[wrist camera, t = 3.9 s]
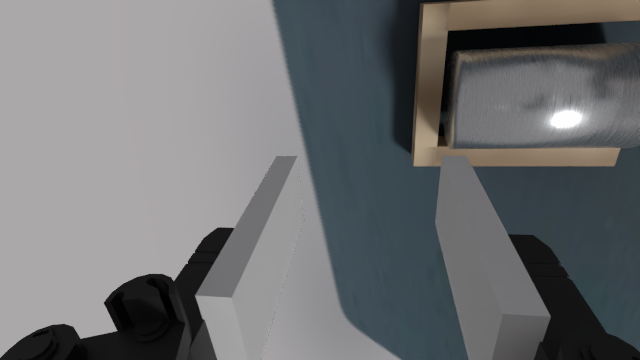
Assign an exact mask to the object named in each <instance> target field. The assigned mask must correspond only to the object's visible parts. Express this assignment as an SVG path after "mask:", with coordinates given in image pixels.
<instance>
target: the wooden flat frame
mask: <svg viewBox="0 0 640 360" xmlns="http://www.w3.org/2000/svg"><path fill="white" fill-rule="evenodd" d="M632 20H640V0H458V1H444V2H429V3H420V13H419V30H418V48H417V65H416V82H415V100H414V117H413V134H412V152H411V156H412V160H413V165H414V166H441V162H442V156H467V158H468V160H469V162H470V164H471V166H614V165H615V163H616V160H617V157H618V154H619V151H620V149H621V148H556V149H449V148H448V146H447V143H446V140H445V136H438V131H439V120H440V110H441V99H442V88H443V78H444V67H445V56H446V46H447V35H448V31H452V30H470V29H488V28H506V27H524V26H542V25H560V24H578V23H596V22H614V21H632Z"/></svg>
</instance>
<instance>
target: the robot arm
mask: <svg viewBox="0 0 640 360" xmlns="http://www.w3.org/2000/svg"><path fill="white" fill-rule="evenodd" d="M303 222H304V214H303V204H302V195H301V186H300V176H299V168H298V158H297V156H277V157H276V158H275V160H274V162H273V163H272V165H271V167H270V168H269V170H268V172H267V174H266V175H265V177H264V179H263V180H262V182H261V184H260V186H259V188H258V189H257V191H256V192H255V194H254V196H253V197H252V199H251V201H250V203H249V204H248V206H247V208H246V210H245V211H244V213H243V215H242V216H241V218H240V220H239V221H238V223H237V225H236V226H235V228H217V229H216V230H214V231H213V232H211V233H210V234H209V235H208V236H206V237H205V238H204V239H203V240H202V241H201V243H200V244H199V246H198V247H197V249H196V250H195V253H193V255H192V256H191V258H190V259H189V261H188V264H186V265H185V266H184V268H183V269H182V271H181V272H180V274H179V275H178V277H177V278H176V279H175V281H173V280H172V278H171V277H168V276H166V275H163V274H148V275H145V276H140V277H137V278H134V279H132V280H130V281H128V282H126V283H124V284H122V285H121V286H120V287H118V288H117V289H116V290H115V291H113V292H112V293H111V294H110V296H109V297H108V298H107V299H106V301H105V302H104V304H105V306H106V308H107V310H108V312H109V314H110V316H111V318H112V320H113V322H114V324H115V327H116V329H117V330H118V331H116V332H112V333H107V334H103V335H98V336H93V337H88V338H83V339H80V337H79V336H78V334H77V332H76V331H75V329H74V328H73V327H72V326H69V325H65V324H59V325H51V326H48V327H45V328H42V329H39V330H37V331H35V332H33V333H31V334H30V335H28V336H26V337H24V338H23V339H21V340H20V341H19V342H17V343H16V344H15V345H14V346H13V347H11V348H10V349H9V350H8V351H7V352H6V353H5V354H4V355H3V356H2V357H1V358H0V360H261V358H262V355H263V352H264V348H265V345H266V342H267V339H268V336H269V333H270V329H271V326H272V322H273V319H274V316H275V313H276V310H277V307H278V303H279V300H280V297H281V294H282V290H283V287H284V284H285V281H286V277H287V274H288V271H289V268H290V264H291V261H292V258H293V255H294V252H295V248H296V245H297V242H298V239H299V235H300V232H301V229H302V226H303ZM435 224H436V229H437V233H438V237H439V241H440V245H441V249H442V253H443V257H444V261H445V265H446V269H447V273H448V277H449V281H450V285H451V289H452V294H453V298H454V302H455V306H456V310H457V314H458V318H459V322H460V326H461V330H462V334H463V338H464V342H465V346H466V350H467V354H468V359H469V360H640V352H639V351H638V350H637V349H636V348H634V347H633V346H631V345H630V344H628V343H626V342H625V341H623V340H621V339H619V338H618V337H616V336H613V335H610V334H607V333H606V331H605V330H604V328H603V327H602V325H601V324H600V322H599V321H598V319H597V318H596V316H595V315H594V313H593V312H592V310H591V309H590V307H589V306H588V304H587V303H586V301H585V300H584V298H583V297H582V295H581V293H580V292H579V290H578V289H577V287H576V286H575V284H574V283H573V281H572V280H570V279H569V275H568V274H567V272H566V271H565V269H564V268H563V267H561V263H560V262H559V260H558V259H557V257H556V256H555V254H554V253H553V251H552V250H551V248H550V247H548V246H547V245H546V244H544V243H543V242H542V241H540V240H539V239H538V238H536V237H535V236H534V235H511V234H507V232H506V230H505V229H504V227H503V225H502V223H501V221H500V219H499V217H498V215H497V213H496V211H495V210H494V208H493V206H492V204H491V202H490V200H489V198H488V196H487V194H486V192H485V191H484V189H483V187H482V185H481V183H480V181H479V179H478V177H477V175H476V173H475V172H474V170H473V168H472V166H471V164H470V162H469V160H468V158H467V156H442V162H441V172H440V181H439V191H438V201H437V211H436V220H435Z"/></svg>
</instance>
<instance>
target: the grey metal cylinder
mask: <svg viewBox="0 0 640 360" xmlns="http://www.w3.org/2000/svg"><path fill="white" fill-rule="evenodd" d="M443 125H444V134H445V140H446V143H447V146H448V148H449V149H556V148H632V147H636V146H638V145H640V42H624V43H603V44H582V45H561V46H540V47H518V48H497V49H476V50H456V51H454V52H453V53H452V55H451V57H450V60H449V64H448V68H447V72H446V78H445V88H444V99H443Z"/></svg>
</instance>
